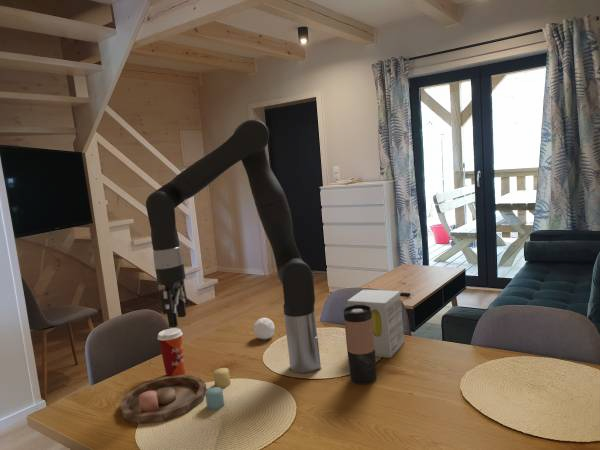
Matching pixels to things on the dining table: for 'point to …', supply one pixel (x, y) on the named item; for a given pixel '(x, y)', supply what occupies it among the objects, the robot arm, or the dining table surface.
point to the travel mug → (360, 344)
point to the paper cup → (172, 351)
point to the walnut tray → (177, 408)
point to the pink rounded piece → (148, 402)
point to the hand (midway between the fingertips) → (178, 321)
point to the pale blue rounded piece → (214, 398)
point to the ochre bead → (221, 377)
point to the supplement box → (383, 319)
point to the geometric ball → (264, 328)
